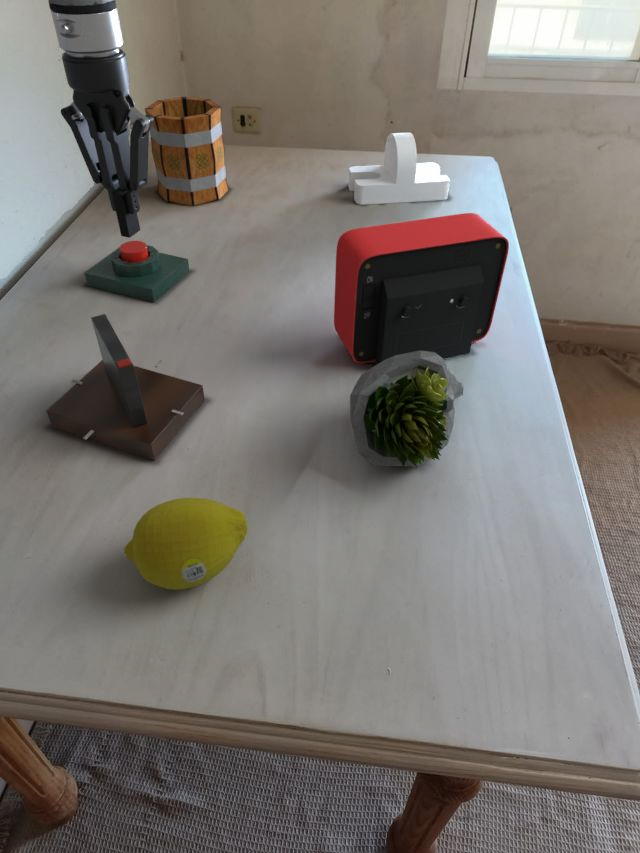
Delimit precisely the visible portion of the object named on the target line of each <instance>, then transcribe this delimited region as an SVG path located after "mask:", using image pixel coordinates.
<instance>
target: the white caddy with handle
mask: <svg viewBox="0 0 640 853" xmlns="http://www.w3.org/2000/svg"><path fill="white" fill-rule="evenodd" d="M441 170H442V167H441V166H440V164H439V163H437V162H418V151H417V144H416V139H415V137H414V135H413V133H412V132H393V133H391V132H390V133H389V134H388V136H387V138H386V142H385V148H384V157H383V164H374V165H373V164H371V165H353V166H350V167H349V168H348V182H347V186H348V190H349V191H350V192H354V193H353V199H354V201H355V204H357V205H361V206H363V205H365V206H366V205H383V204H384V205H385V204H398V203H414V202H432V201H445V200H447V199H448V194H449V189H450V182H451V178H450V177H449V176H448V175H447V174H441Z"/></svg>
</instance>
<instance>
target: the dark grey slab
mask: <svg viewBox="0 0 640 853" xmlns="http://www.w3.org/2000/svg"><path fill="white" fill-rule="evenodd" d="M90 319H91V323H92V327H93V330H94V334H95V338H96V341H97V344H98V348H99V352H100V356H101V358H102V360H103V363H104V366H105V370H106V373H107V375H108V377H109V379H110V381H111V383H112V385H113V387H114V389H115V391H116V394H117V396H118V398H119V400H120V402H121V404H122V406H123V408H124V410H125V412H126V414H127V416H128V418H129V420H130V422H131V424H132V426H133V427H137V426H140V425H143V424H146V423H147V419H146V415H145V410H144V406H143V402H142V398H141V394H140V389H139V385H138V381H137V377H136V372H135V368H134V366H135V365H134V363H133V361H132V359H131V358H130V356H129V355H128V352H127V351H126V349H125V347H124V345H123V343H122V342H121V340H120V338H119V336H118V335H117V333H116V331H115V329H114V327H113V326H112V324H111V321H110V320H109V318H108V316H107V315H106V314H105V313H102V314H99V315H95V316H92V317H90Z"/></svg>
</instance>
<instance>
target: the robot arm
mask: <svg viewBox="0 0 640 853" xmlns="http://www.w3.org/2000/svg"><path fill="white" fill-rule="evenodd" d="M48 7H49V9H50V13H51V17H52V21H53V26H54V29H55V34H56V38H57V42H58V46H59V48H60V49H61V50H63V51H64V52H63V54H62V56H61V61H62V65H63V69H64V73H65V77H66V81H67V85H68V86H69V88H70V89H72V90H73V91H72V102H71V103H70V104H69V105H67V106H65V107H63V108H61V109H60V114H61V116H62V118H63V119H64V120H65V122H66V124H67V125H68V127H70V130H71V132H72V135H73V137H74V140H75V142H76V143H77V147H78V149H79V151H80V153H81V156H82V159H83V160H84V162H85V166H86V168H87V170H88V172H89V174H90V178H91V179H92V181H93V183H95V184H97V185H98V184H100V185H102V186H104V188H105V189H106V191H107V193H108V198H109V202H110V207H111V209H112V211H113V212H115V214H116V220H117V224H118V228H119V232H120V236H121V237H124V238H129V239H131V238H132V237H133V236H134V235H136V234H137V233H138V232H140V231H141V225H140V220H139V216H138V212H140V209H141V207H140V203H139V196H138V190H140V189H141V188H142V187H144V186H146V185H147V184H148V176H149V145H150V144H149V141H150V140H149V139H150V129H151V126H152V124H153V118H152V116H151V115H149V114H147V115H146V114H145V115H144V114H143V113H142V112H141V111H140V110H138V109H137V108H136V104H135V100H134V99H133V97H132V95H131V93H130V82H131V79H130V78H131V77H130V71H129V66H128V61H127V56H126V53H125V52H124V50H123V49H121V48H122V46H123V45H124V43H125V42H124V37H123V32H122V26H121V21H120V20H121V19H120V15H119V10H118V7H117V0H48Z"/></svg>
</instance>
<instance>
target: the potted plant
mask: <svg viewBox="0 0 640 853" xmlns="http://www.w3.org/2000/svg"><path fill="white" fill-rule="evenodd" d="M463 395H464V386H463V384H462V383H461V381H459V380H458V379H457V378H456V376H455V375H454V374H453V373H452V371H450V369H448V366H447V364H446V362H445V358H442V357H440V356H439V355H438V354H436V353H435V352H429V351H421V350H420V351H415V352H410V353H405V354H400V355H395V356H393V357H390V358H388V359H386V360H384V361H382V362H381V363H379V364H377V365H376V364H375V365H374V366H372V367H370V368H369V369H368V370H366V371H364V372H363V373H361V374H360V376H359V377H358V380H357V381H356V383H355V384H354V387H353V389H352V391H351V393H350V394H349V419H350V424H351V428H352V433H353V437H354V441H355V444H356V450H357V452H358V455H359V456H361V457H362V458H364V459H365V460H367V461H369V462H370V463H372V464H373V465H375V466H377V467H403V468H405V467H414V468H416V469H417V470H418V469H419V468H418V466H423V464H424V463H426V462H427V461H428V460H434V461H436V460H438V461H440V460H441V459H440V457H442V454H441V452H440V451H442V450H444V448H446V447H447V446H448V444H449V441H450V438H451V434H452V431H453V428H454V423H455V422H454V421H455V414H456V413H455V412H456V411H455V401H456V400H457V399H458V398H460V397H462V396H463ZM439 456H440V457H439Z"/></svg>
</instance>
